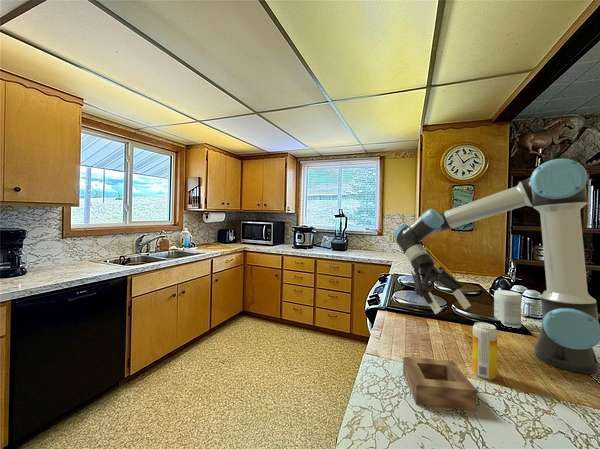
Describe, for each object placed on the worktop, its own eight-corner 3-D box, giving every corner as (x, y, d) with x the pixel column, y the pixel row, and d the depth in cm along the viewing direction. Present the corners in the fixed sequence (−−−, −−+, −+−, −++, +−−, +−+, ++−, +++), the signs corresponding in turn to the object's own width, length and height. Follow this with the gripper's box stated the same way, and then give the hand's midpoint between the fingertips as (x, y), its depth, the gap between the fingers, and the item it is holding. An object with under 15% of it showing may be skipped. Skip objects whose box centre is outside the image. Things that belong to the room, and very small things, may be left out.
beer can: (495, 373, 82) (496, 324, 82) (497, 383, 77) (498, 331, 76) (471, 367, 85) (472, 320, 85) (472, 376, 80) (473, 326, 80)
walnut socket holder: (452, 377, 79) (452, 360, 79) (476, 410, 66) (476, 390, 65) (403, 373, 81) (403, 356, 81) (416, 404, 68) (416, 384, 67)
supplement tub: (524, 326, 118) (525, 293, 118) (516, 331, 113) (516, 296, 113) (498, 319, 127) (499, 288, 126) (489, 323, 121) (490, 291, 121)
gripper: (437, 263, 111) (471, 310, 97) (388, 266, 102) (418, 319, 88) (448, 251, 106) (486, 300, 92) (398, 254, 97) (432, 308, 83)
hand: (453, 309), depth 90 cm, fingers open, 13 cm apart
